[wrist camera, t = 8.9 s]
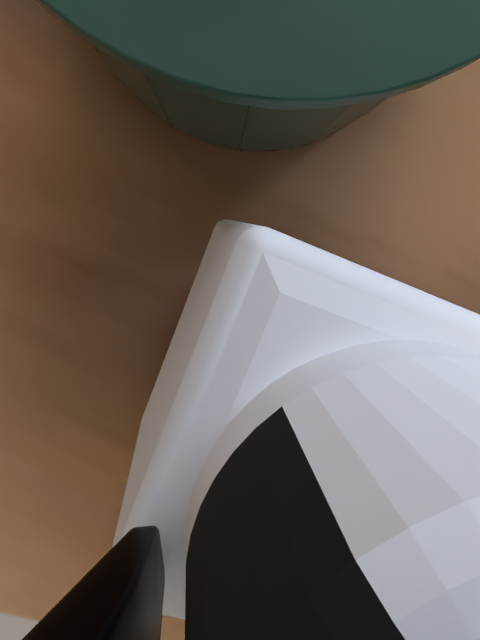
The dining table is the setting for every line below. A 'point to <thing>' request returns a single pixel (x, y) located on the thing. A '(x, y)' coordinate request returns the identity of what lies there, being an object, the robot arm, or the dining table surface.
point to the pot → (234, 115)
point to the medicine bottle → (312, 451)
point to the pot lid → (282, 45)
